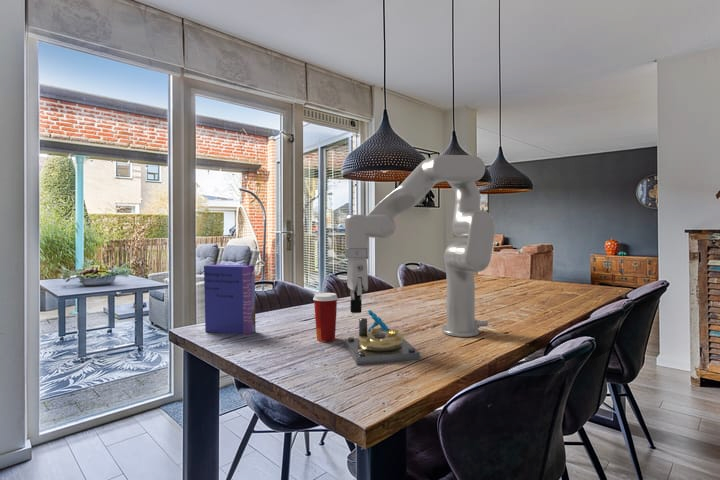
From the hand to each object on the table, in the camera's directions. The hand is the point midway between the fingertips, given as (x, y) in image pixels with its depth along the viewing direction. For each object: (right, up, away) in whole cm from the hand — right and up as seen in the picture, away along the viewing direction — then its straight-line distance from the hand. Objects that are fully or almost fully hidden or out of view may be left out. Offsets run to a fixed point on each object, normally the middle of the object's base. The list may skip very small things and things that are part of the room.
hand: (355, 312), depth 124 cm
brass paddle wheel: (+7, -8, -7) cm, 13 cm away
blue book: (-45, -10, +18) cm, 50 cm away
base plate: (+7, -11, -7) cm, 15 cm away
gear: (+8, -10, +17) cm, 21 cm away
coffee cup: (-10, -11, +7) cm, 16 cm away
